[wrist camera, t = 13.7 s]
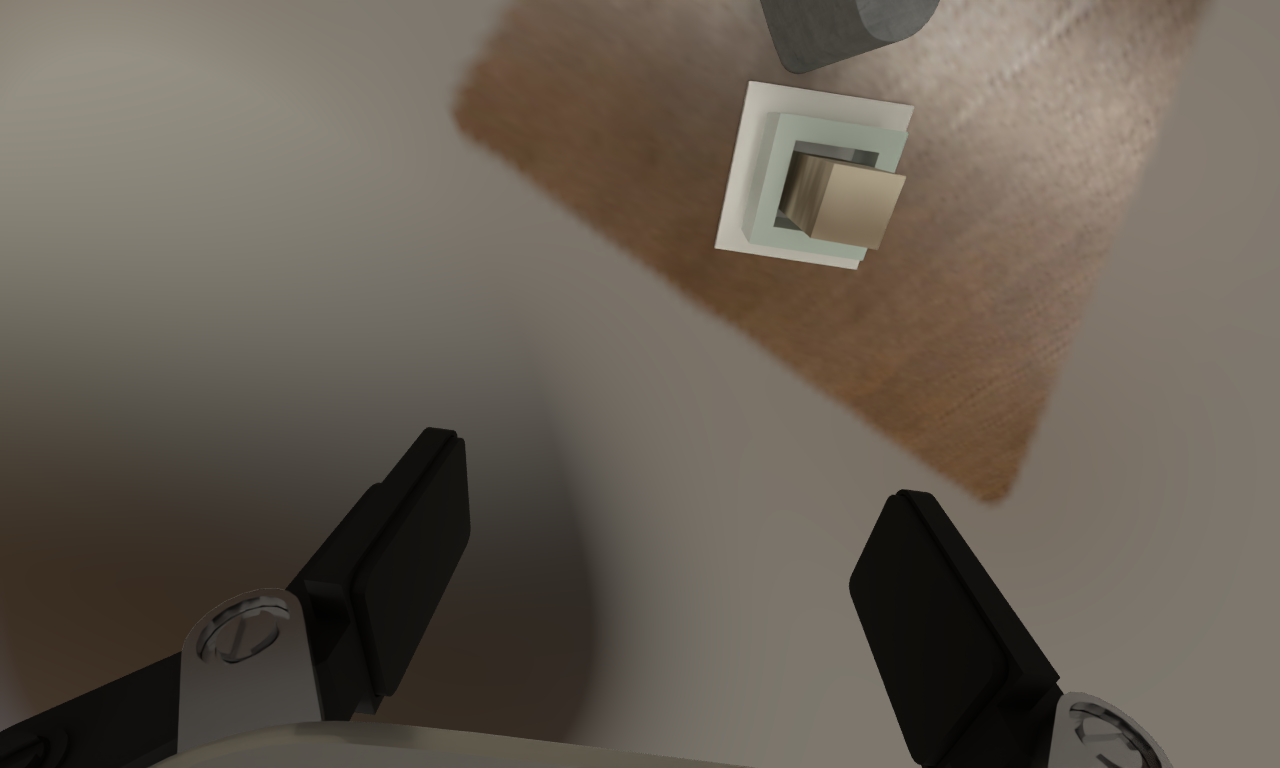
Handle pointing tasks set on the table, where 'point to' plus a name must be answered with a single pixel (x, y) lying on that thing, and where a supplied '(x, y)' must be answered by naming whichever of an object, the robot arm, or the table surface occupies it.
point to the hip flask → (839, 28)
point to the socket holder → (763, 158)
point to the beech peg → (839, 199)
